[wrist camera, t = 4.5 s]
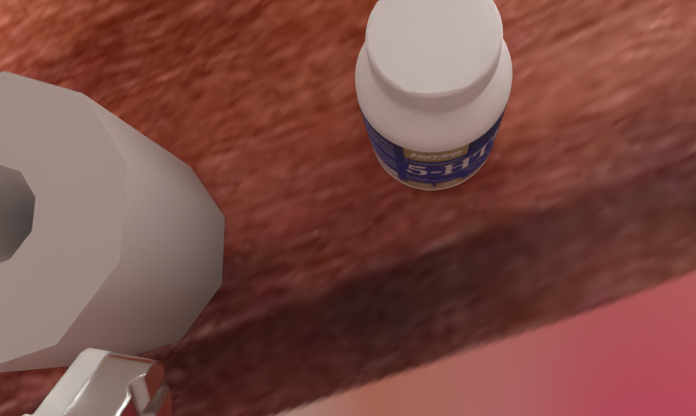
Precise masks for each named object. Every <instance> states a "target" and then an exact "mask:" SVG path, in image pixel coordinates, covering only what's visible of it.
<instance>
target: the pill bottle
mask: <svg viewBox="0 0 696 416" xmlns="http://www.w3.org/2000/svg"><path fill="white" fill-rule="evenodd" d="M511 85H512V63H511V57H510V53H509V51H508V48H507V45H506V43H505V41H504V39H503V26H502V21H501V17H500V13H499V11H498V9H497V6H496V5H495V3H494V1H493V0H379V1H378V2H377V3H376V5H375V7H374V9H373V10H372V12H371V14H370V17H369V20H368V23H367V27H366V34H365V42H364V44H363V46H362V48H361V50H360V53H359V56H358V60H357V63H356V69H355V87H356V93H357V98H358V103H359V106H360V109H361V112H362V115H363V118H364V122H365V125H366V128H367V132H368V135H369V138H370V142H371V145H372V148H373V150H374V153H375V155H376V157H377V159H378V161H379V163H380V164H381V166H382V167H383V168H384V169H385V171H386V172H387V173H388V174H389V175H391V176H392V177H393V178H394V179H396V180H397V181H399V182H401V183H403V184H405V185H407V186H409V187H412V188H416V189H420V190H442V189H447V188H450V187H453V186H456V185H459V184H461V183H463V182H465V181H466V180H468V179H469V178H470V177H472V176H473V175H474V174H475V173H477V171H478V170H479V169H480V168H481V167H482V166H483V164H484V163H485V161H486V160H487V158H488V156H489V154H490V152H491V149H492V147H493V144H494V141H495V138H496V135H497V132H498V129H499V126H500V123H501V120H502V117H503V114H504V111H505V108H506V105H507V102H508V99H509V95H510V91H511Z"/></svg>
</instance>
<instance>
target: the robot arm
mask: <svg viewBox="0 0 696 416" xmlns="http://www.w3.org/2000/svg"><path fill="white" fill-rule="evenodd" d="M165 375H166V369H165V366H164V363H163V361H158V360H153V359H148V358H142V357H137V356H132V355H127V354H122V353H117V352H112V351H106V350H100V349H95V348H87V349H86V350H84V351H83V352H81V353H80V354H79V355H78V357H77V358H76V359H75V361H74V362H73V363H72V364H71V366H70V367H69V368H68V370H67V371H66V372H65V373H64V375H63V376H62V377H61V379H60V380H59V381H58V382H57V384H56V385H55V386H54V388H53V389H52V390H51V392H50V393H49V394H48V395H47V397H46V398H45V399H44V401H43V402H42V403H41V404H40V406H39V407H38V408H37V410H36V411H35V412H34V413H33V415H31V414H24V415H22V416H170V415H171V412H172V406H173V396H172V392H171V388H170V387H169V386H167V385H166V384H165V383H164V382H163V381H162V380H163V379H164V377H165Z"/></svg>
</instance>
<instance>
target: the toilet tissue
mask: <svg viewBox="0 0 696 416" xmlns="http://www.w3.org/2000/svg"><path fill="white" fill-rule="evenodd" d="M224 232H225V217H224V215H223V214H222V212H221V211H220V209H219V208H218V206H217V205H216V203H215V202H214V200H213V199H212V197H211V196H210V194H209V193H208V191H207V190H206V188H205V187H204V185H203V184H202V182H201V181H200V180H199V178H198V177H197V175H196V174H195V172H194V171H193V169H192V168H191V167H190V166H189V165H187V164H186V163H184V162H183V161H182V160H180V159H179V158H177V157H176V156H174V155H173V154H171V153H170V152H168V151H167V150H165V149H164V148H162V147H161V146H159V145H158V144H156V143H155V142H154V141H152V140H151V139H149V138H148V137H146V136H145V135H143V134H142V133H140V132H139V131H137V130H136V129H134V128H133V127H131V126H130V125H128V124H127V123H126V122H124V121H123V120H121V119H120V118H118V117H117V116H115V115H114V114H112V113H111V112H109V111H108V110H106V109H105V108H103V107H102V106H100V105H99V104H98V103H96V102H95V101H93V100H92V99H90V98H89V97H87V96H86V95H84V94H83V93H80V92H76V91H73V90H69V89H66V88H62V87H59V86H55V85H52V84H48V83H45V82H41V81H38V80H34V79H31V78H27V77H23V76H20V75H16V74H13V73H9V72H6V71H4V72H2V73H0V372H11V371H22V370H33V369H44V368H55V367H66V366H71V364H72V363H73V362H74V361H75V359H76V358H77V357H78V355H79V354H80V353H81V352H83V351H84V350H86V349H87V348H95V349H100V350H106V351H112V352H117V353H122V354H127V355H132V356H136V355H139V354H142V353H145V352H148V351H151V350H154V349H157V348H160V347H163V346H166V345H169V344H172V343H175V342H178V341H181V339H182V338H183V337H184V335H185V334H186V333H187V331H188V330H189V328H190V327H191V326H192V324H193V323H194V322H195V320H196V319H197V318H198V316H199V315H200V314H201V312H202V311H203V310H204V308H205V307H206V305H207V304H208V303H209V301H210V300H211V299H212V297H213V296H214V295H215V293H216V292H217V291H218V289H219V288H220V286H221V285H222V273H223V252H224Z"/></svg>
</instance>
